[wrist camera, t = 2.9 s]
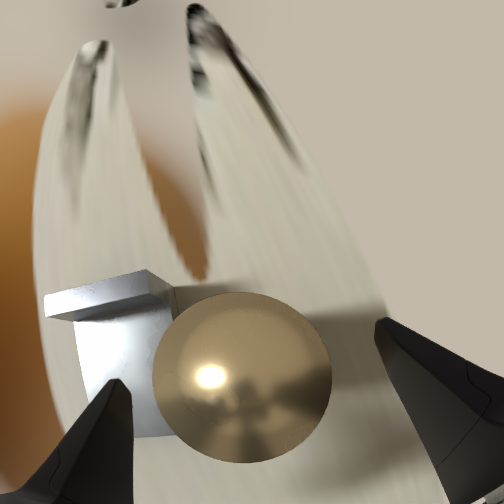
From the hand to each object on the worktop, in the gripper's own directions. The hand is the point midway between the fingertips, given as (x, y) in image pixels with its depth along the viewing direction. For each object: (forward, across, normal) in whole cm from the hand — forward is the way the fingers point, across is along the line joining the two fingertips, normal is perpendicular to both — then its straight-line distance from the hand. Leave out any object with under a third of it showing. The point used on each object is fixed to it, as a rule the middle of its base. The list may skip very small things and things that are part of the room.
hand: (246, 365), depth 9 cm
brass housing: (+6, 0, +6) cm, 8 cm away
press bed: (+6, +8, +5) cm, 11 cm away
